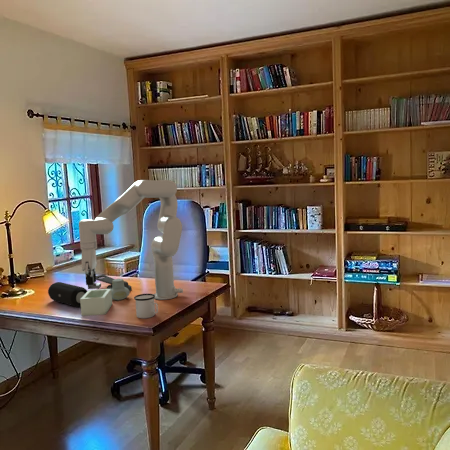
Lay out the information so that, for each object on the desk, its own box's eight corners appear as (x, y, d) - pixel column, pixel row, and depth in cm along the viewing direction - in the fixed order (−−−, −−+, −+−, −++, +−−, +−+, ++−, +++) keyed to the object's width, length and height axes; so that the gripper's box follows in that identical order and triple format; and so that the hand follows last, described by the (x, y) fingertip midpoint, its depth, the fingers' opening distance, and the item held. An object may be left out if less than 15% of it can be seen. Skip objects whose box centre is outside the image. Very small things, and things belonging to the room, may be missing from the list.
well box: (112, 304, 236) (111, 288, 235) (105, 314, 220) (104, 297, 219) (90, 305, 236) (88, 290, 235) (81, 315, 220) (80, 299, 219)
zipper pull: (103, 273, 277) (133, 278, 262) (104, 284, 278) (134, 289, 263) (91, 277, 270) (120, 281, 255) (92, 288, 271) (121, 293, 256)
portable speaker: (47, 302, 246) (45, 283, 245) (64, 297, 254) (62, 279, 252) (74, 310, 230) (72, 290, 228) (92, 305, 237) (90, 285, 236)
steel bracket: (101, 286, 229) (100, 269, 228) (98, 288, 224) (97, 272, 223) (90, 286, 229) (89, 270, 228) (88, 289, 224) (86, 272, 223)
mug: (130, 317, 214) (129, 297, 213) (145, 311, 222) (144, 292, 221) (150, 321, 207) (149, 300, 206) (165, 314, 215) (163, 295, 214)
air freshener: (128, 295, 252) (127, 277, 250) (131, 299, 244) (129, 280, 243) (107, 298, 248) (106, 279, 247) (109, 302, 240) (107, 283, 239)
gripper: (85, 243, 232) (87, 279, 234) (75, 249, 215) (78, 288, 217) (100, 242, 232) (103, 279, 235) (92, 248, 216) (94, 287, 218)
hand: (91, 283), depth 226 cm, fingers closed on steel bracket, 5 cm apart
